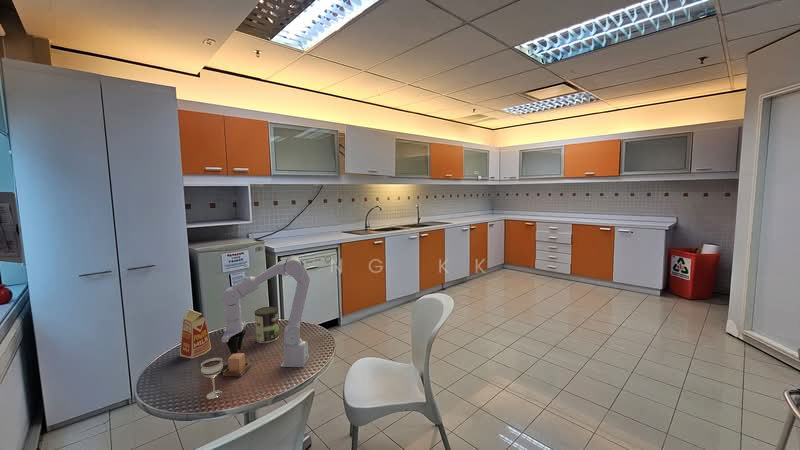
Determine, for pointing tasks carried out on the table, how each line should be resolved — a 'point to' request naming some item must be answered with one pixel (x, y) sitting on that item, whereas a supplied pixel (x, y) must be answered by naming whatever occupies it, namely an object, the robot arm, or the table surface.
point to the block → (236, 362)
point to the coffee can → (267, 324)
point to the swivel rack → (227, 373)
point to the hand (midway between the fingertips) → (235, 351)
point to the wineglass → (212, 373)
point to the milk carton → (194, 335)
